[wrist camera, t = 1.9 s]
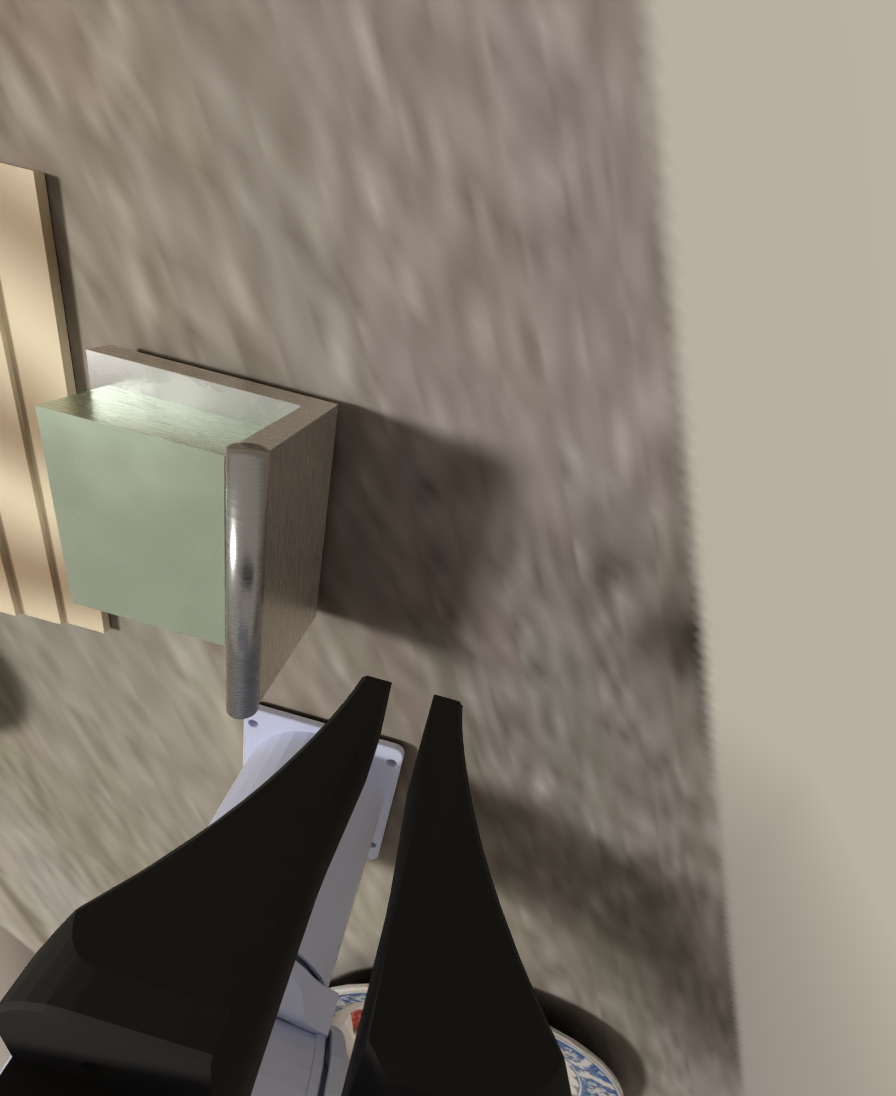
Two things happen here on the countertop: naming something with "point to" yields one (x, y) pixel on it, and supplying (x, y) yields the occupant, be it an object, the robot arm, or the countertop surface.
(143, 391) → the green and grey box
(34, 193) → the dock
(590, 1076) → the ceramic plate
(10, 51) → the countertop surface
